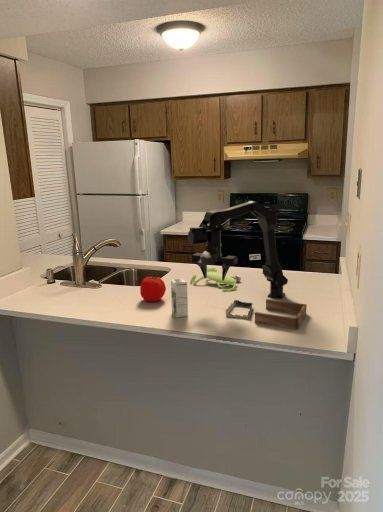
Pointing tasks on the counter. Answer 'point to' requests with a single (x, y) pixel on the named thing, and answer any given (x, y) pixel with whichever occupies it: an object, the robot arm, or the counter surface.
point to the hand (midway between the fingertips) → (214, 279)
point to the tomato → (152, 289)
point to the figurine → (218, 279)
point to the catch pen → (282, 320)
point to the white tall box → (179, 297)
